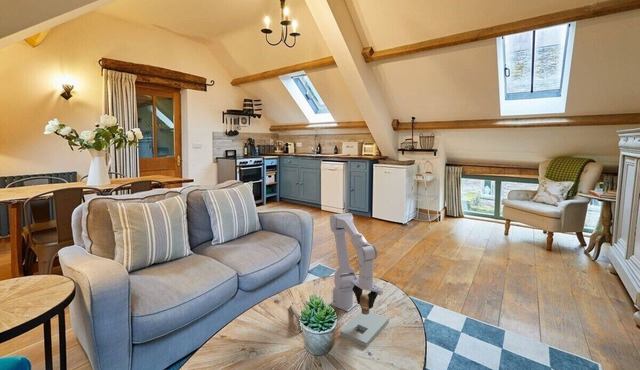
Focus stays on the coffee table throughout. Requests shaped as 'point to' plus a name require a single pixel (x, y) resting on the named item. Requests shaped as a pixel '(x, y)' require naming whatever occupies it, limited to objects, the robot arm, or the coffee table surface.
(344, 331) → the board
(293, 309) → the caliper
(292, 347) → the coffee table surface
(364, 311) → the peg
